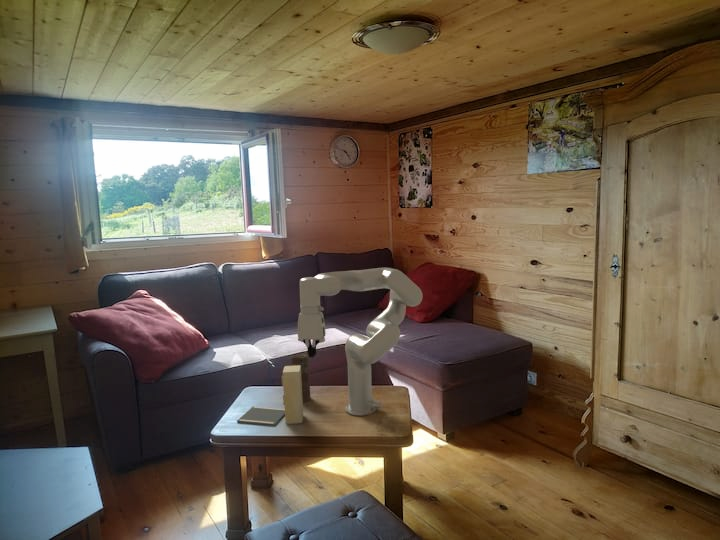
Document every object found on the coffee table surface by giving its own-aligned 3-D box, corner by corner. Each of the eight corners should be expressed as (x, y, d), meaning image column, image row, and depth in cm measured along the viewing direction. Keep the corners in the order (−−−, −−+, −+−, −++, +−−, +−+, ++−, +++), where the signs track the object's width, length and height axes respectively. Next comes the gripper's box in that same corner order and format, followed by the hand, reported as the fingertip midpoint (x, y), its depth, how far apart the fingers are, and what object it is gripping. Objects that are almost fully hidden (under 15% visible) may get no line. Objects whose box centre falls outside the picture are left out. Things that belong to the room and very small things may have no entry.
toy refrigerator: (285, 415, 199) (282, 365, 196) (303, 414, 199) (301, 365, 197) (283, 424, 191) (280, 372, 188) (302, 423, 192) (300, 371, 189)
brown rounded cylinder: (290, 401, 213) (288, 357, 210) (297, 395, 220) (295, 352, 217) (306, 403, 211) (304, 358, 208) (313, 396, 218) (311, 353, 215)
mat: (288, 411, 203) (288, 409, 203) (274, 426, 190) (274, 424, 190) (253, 408, 207) (252, 406, 207) (237, 422, 194) (236, 420, 193)
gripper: (332, 308, 189) (333, 354, 191) (295, 307, 192) (297, 352, 195) (326, 312, 182) (327, 360, 184) (288, 311, 185) (290, 358, 188)
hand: (312, 356), depth 189 cm, fingers closed
